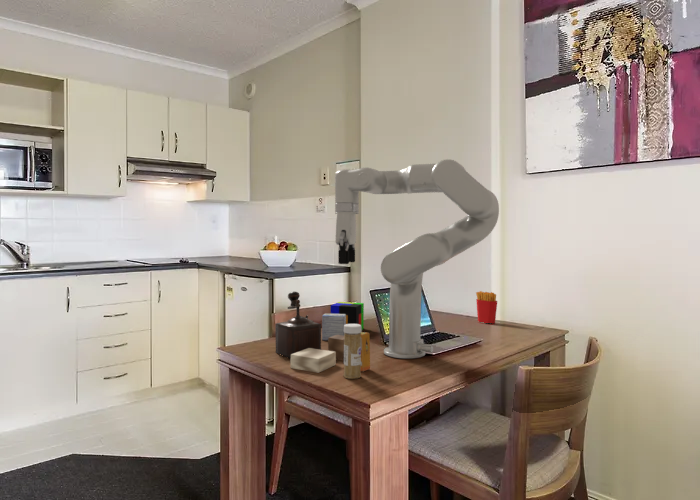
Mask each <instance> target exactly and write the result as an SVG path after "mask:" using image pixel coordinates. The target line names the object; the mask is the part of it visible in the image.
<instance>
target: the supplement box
mask: <svg viewBox="0 0 700 500" xmlns="http://www.w3.org/2000/svg"><path fill="white" fill-rule="evenodd" d="M370 341H371V340H370V333H369V332H365V331H364V332H363V331H362V332H361V365H360V366H361V368H360V369H361V370H360V371H361V372H363V373H364V372H366V371H368V370H371V347H370V346H371V344H370V343H371V342H370Z"/></svg>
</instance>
